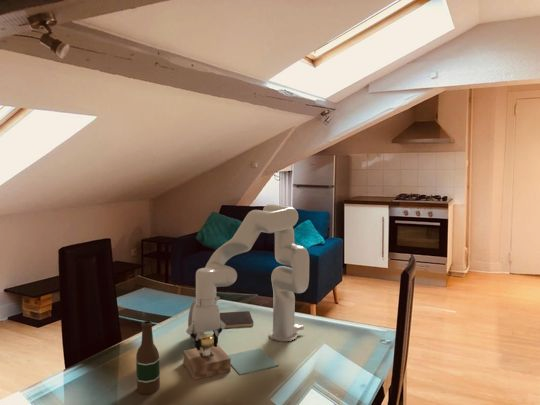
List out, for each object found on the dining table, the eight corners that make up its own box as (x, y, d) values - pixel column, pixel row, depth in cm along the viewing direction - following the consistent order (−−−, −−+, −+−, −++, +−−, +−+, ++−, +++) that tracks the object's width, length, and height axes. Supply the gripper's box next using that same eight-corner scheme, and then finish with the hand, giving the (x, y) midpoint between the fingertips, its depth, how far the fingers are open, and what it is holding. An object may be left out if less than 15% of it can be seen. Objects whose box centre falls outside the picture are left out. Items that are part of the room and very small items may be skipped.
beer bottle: (139, 383, 154) (137, 318, 151) (161, 382, 155) (160, 317, 152) (134, 395, 146) (132, 327, 143) (158, 394, 147) (156, 326, 144)
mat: (260, 349, 182) (260, 348, 182) (278, 365, 168) (278, 364, 168) (224, 356, 175) (224, 355, 175) (239, 375, 160) (239, 374, 160)
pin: (211, 362, 170) (211, 332, 169) (216, 368, 165) (216, 338, 163) (196, 365, 167) (196, 335, 166) (201, 372, 162) (201, 341, 161)
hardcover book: (253, 327, 206) (253, 322, 205) (204, 330, 201) (204, 325, 201) (249, 314, 221) (249, 310, 221) (203, 317, 217) (203, 313, 217)
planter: (202, 350, 180) (202, 306, 178) (185, 350, 180) (184, 306, 178) (208, 332, 198) (208, 292, 196) (192, 332, 198) (192, 292, 196)
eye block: (217, 355, 175) (217, 343, 175) (230, 371, 163) (230, 358, 162) (183, 363, 169) (183, 350, 169) (194, 379, 157) (194, 366, 156)
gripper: (224, 295, 170) (224, 339, 172) (180, 301, 163) (181, 347, 165) (231, 301, 164) (231, 346, 166) (186, 308, 156) (187, 356, 158)
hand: (206, 346), depth 165 cm, fingers closed on pin, 6 cm apart
